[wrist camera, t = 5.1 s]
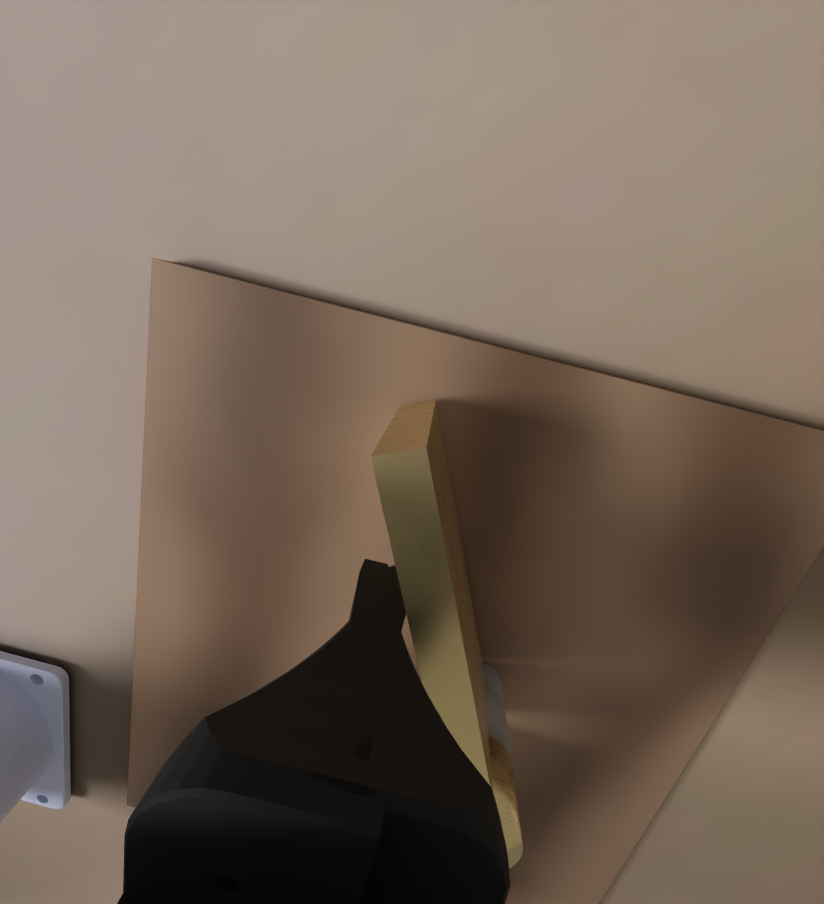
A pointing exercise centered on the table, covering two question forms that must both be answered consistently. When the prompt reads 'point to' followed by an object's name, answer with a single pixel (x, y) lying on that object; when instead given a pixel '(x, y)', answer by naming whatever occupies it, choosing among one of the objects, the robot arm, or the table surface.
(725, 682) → the hinge base
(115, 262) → the table surface
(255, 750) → the robot arm
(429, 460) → the hinge leaf
